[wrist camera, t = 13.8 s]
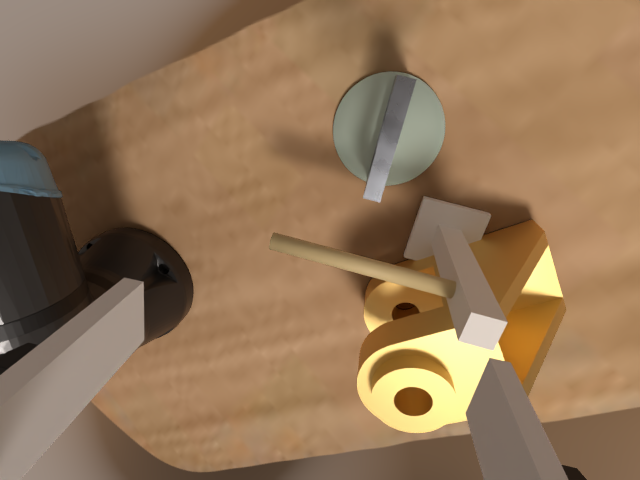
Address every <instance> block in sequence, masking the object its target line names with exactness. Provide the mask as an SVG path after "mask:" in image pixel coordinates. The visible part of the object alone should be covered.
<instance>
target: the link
mask: <svg viewBox="0 0 640 480" xmlns="http://www.w3.org/2000/svg"><path fill="white" fill-rule="evenodd" d="M416 80H417V79H413V78H409V77H405V76H401V75H396V76H395V78H394V82H393V86H392V89H391V93H390V96H389V100H388V104H387V107H386V111H385V115H384V118H383V122H382V125H381V129H380V133H379V136H378V140H377V144H376V147H375V151H374V154H373V158H372V162H371V165H370V169H369V173H368V176H367V181H366V186H365V191H364V196H363V198H365V199H368V200H372V201H376V202H380V201H381V197H382V194H383V191H384V187H385V184H386V181H387V177H388V174H389V171H390V167H391V164H392V161H393V157H394V154H395V150H396V147H397V144H398V140H399V137H400V134H401V130H402V127H403V124H404V120H405V117H406V114H407V110H408V107H409V104H410V100H411V97H412V93H413V90H414V87H415V83H416Z"/></svg>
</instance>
